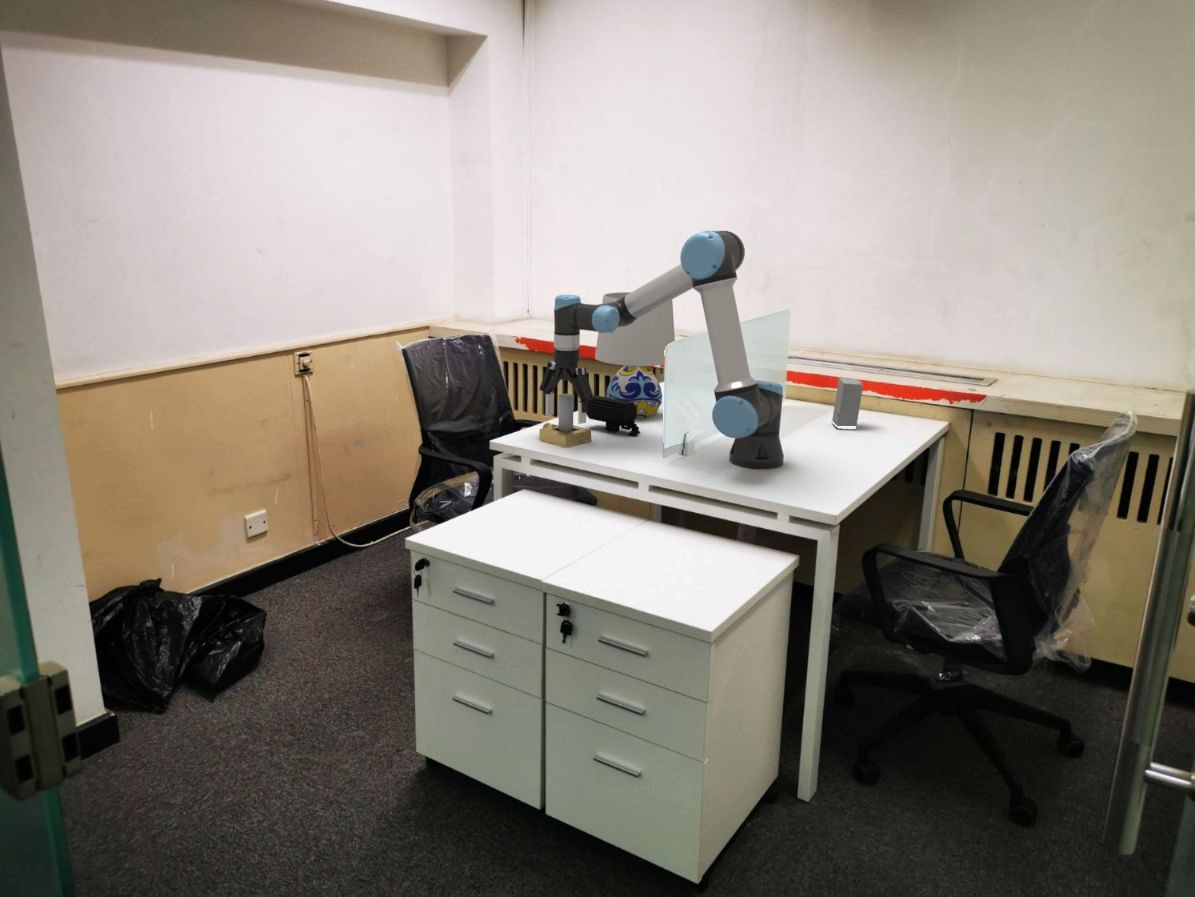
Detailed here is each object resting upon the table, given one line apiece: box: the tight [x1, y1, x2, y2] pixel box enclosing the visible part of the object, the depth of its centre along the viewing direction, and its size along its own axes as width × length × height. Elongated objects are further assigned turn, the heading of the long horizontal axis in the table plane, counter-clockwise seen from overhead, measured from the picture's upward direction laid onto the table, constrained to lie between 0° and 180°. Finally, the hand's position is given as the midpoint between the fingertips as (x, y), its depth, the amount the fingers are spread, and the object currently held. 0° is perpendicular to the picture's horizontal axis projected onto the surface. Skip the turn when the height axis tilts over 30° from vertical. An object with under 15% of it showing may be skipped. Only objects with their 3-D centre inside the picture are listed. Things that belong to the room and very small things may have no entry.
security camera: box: [586, 395, 641, 438], centre depth 282 cm, size 7×18×10 cm, turn 53°
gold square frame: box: [538, 422, 592, 449], centre depth 271 cm, size 14×11×4 cm
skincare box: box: [831, 377, 864, 427], centre depth 294 cm, size 8×7×16 cm
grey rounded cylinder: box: [558, 393, 575, 433], centre depth 269 cm, size 4×4×14 cm
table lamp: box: [594, 291, 676, 421], centre depth 300 cm, size 27×27×40 cm
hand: (565, 419), depth 269 cm, fingers open, 13 cm apart
